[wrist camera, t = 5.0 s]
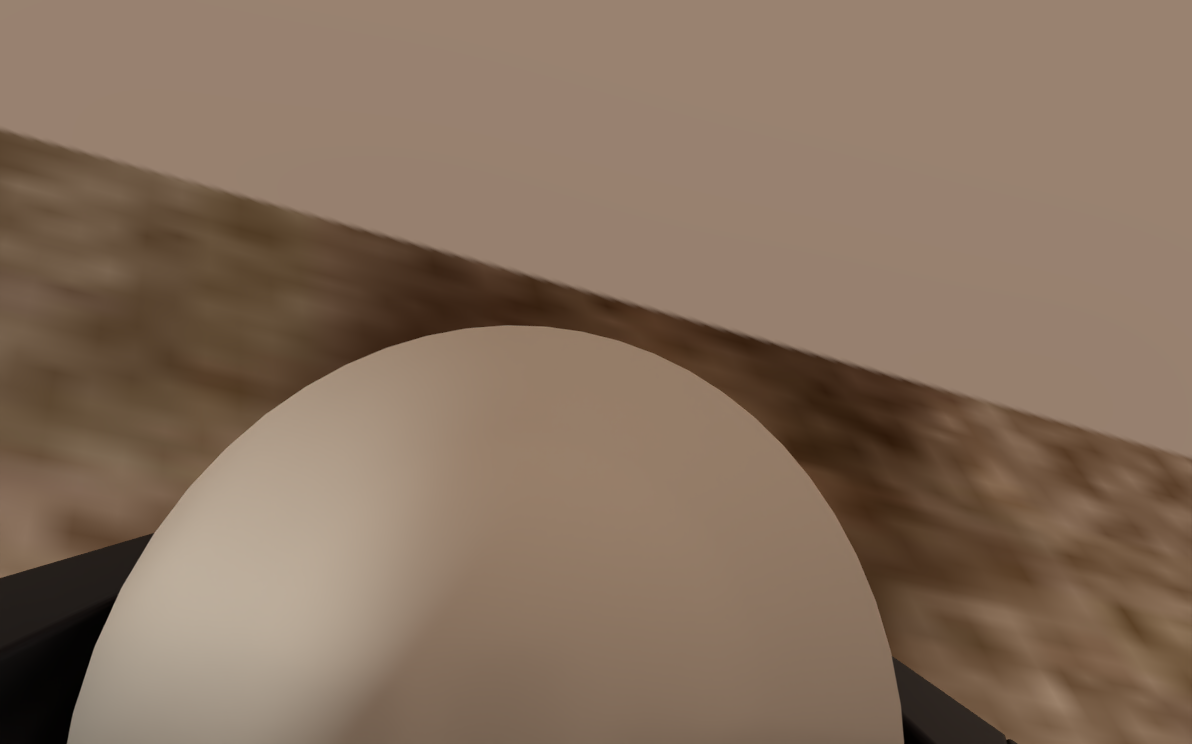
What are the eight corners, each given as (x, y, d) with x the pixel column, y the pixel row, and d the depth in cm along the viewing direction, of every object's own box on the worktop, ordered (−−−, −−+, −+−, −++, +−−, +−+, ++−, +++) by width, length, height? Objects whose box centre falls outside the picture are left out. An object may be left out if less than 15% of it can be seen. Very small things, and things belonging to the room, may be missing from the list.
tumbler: (656, 562, 16) (856, 384, 7) (635, 903, 12) (989, 1351, 4) (398, 520, 15) (286, 274, 7) (293, 863, 12) (-242, 1275, 3)
